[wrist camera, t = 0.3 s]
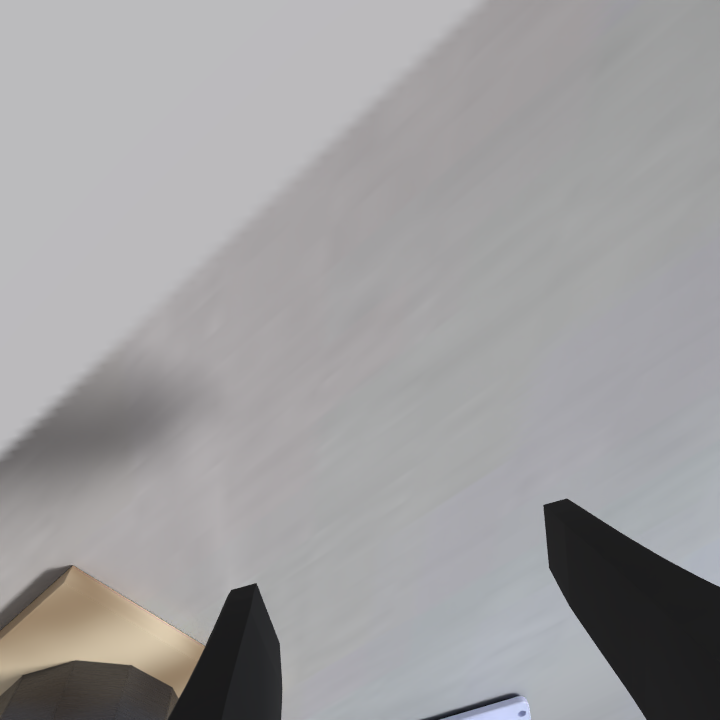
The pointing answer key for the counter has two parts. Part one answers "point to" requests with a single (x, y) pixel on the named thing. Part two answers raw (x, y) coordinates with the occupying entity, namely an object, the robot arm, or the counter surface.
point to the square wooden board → (93, 634)
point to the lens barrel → (88, 694)
